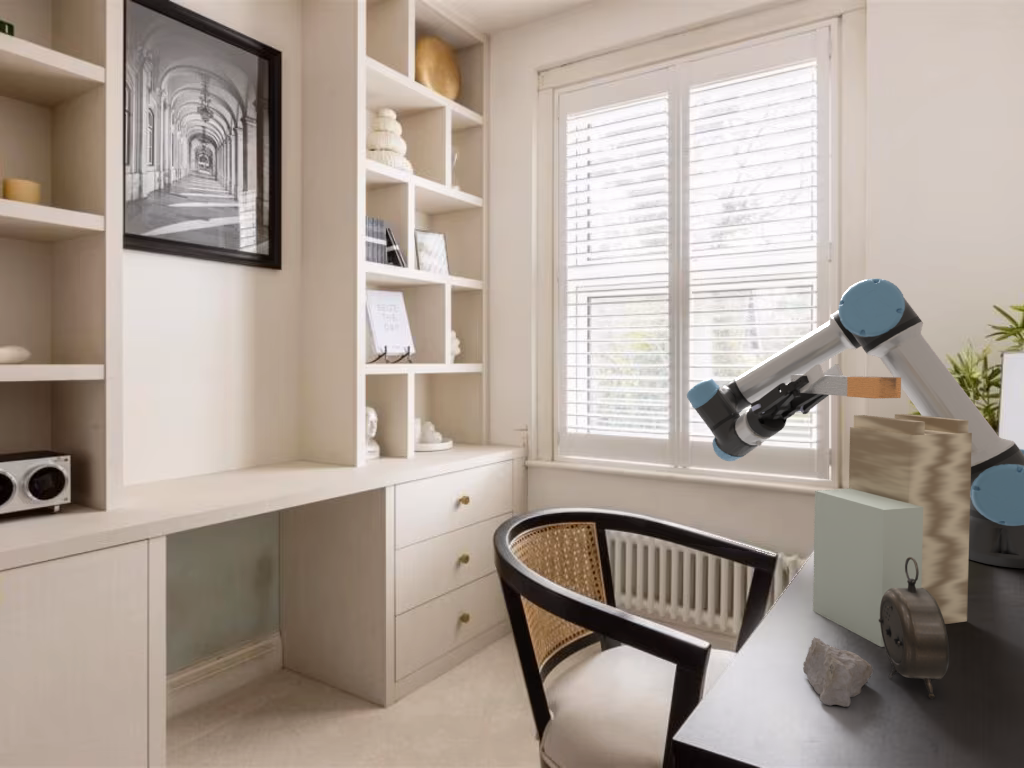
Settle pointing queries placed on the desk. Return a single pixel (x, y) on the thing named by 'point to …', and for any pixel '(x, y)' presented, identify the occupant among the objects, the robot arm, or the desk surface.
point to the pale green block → (862, 556)
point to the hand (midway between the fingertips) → (830, 370)
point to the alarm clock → (914, 632)
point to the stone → (835, 673)
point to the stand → (923, 491)
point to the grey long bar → (856, 386)
